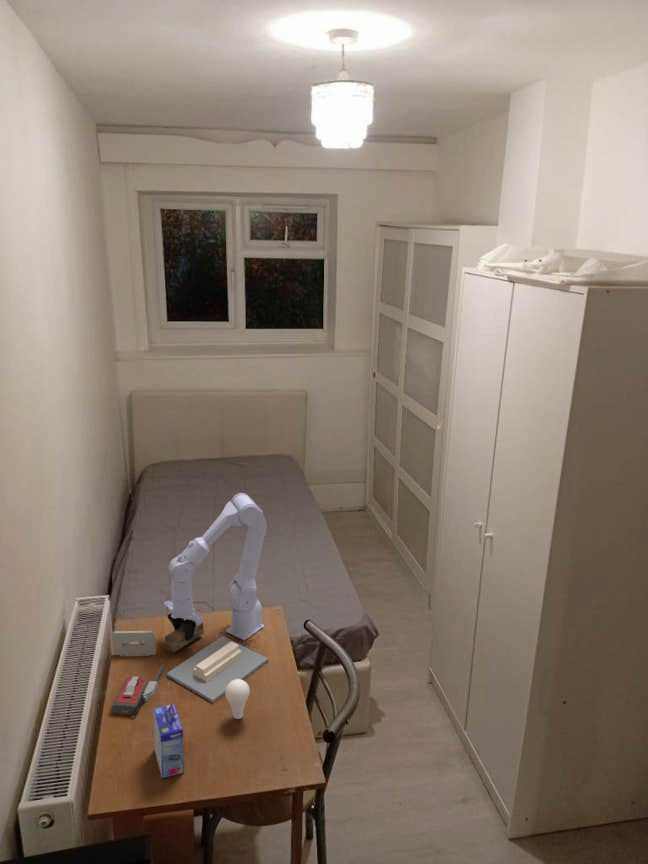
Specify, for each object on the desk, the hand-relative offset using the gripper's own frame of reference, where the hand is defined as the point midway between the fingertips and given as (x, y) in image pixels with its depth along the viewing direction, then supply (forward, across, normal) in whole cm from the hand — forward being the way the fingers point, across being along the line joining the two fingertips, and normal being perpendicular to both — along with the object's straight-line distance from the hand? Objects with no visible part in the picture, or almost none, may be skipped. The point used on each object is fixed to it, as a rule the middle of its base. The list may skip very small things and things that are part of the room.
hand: (184, 636), depth 196 cm
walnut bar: (+2, 0, 0) cm, 2 cm away
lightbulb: (+3, +34, -13) cm, 37 cm away
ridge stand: (+3, +16, -2) cm, 16 cm away
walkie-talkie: (+3, +6, -22) cm, 23 cm away
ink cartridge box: (+3, +31, -33) cm, 45 cm away
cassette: (+3, -8, -12) cm, 15 cm away
